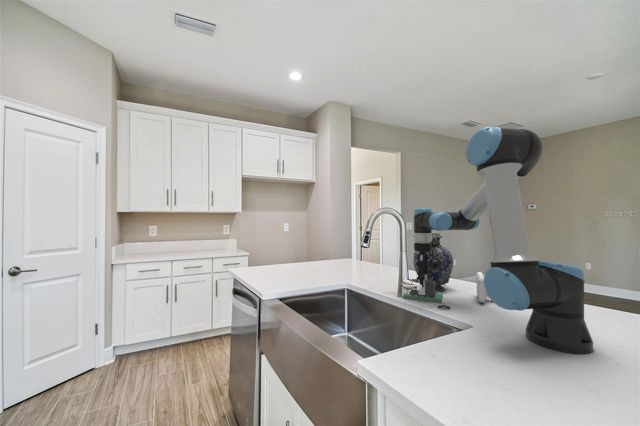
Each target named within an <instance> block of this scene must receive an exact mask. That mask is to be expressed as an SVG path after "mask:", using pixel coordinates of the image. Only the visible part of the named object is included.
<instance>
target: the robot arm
mask: <svg viewBox="0 0 640 426" xmlns="http://www.w3.org/2000/svg"><path fill="white" fill-rule="evenodd" d="M543 148H544V147H543V142H542V140H541V138H540V136H539V135H538V134H537V133H536V132H534V131H532V130H529V129H525V128H509V127H507V128H506V127H499V126H486V127H485V126H484V127H482V128H480V129H479V130H477V131H476V132H475V133H474V134H472V135H471V137H470V139H469V141H468V142H467V145H466V150H465V157H466V160H467V162H468V163H469V164H470V165H472V166H475V167H476V171H477V175H478V176H479V177H481V178H482V179H483V183H482V184H481V185H480V186H479V188H477V190H476V191H475V192H474V194H473V195H472V196H471V197H470V198H469V199H468V201H466V203H465V204H464V205H463V206H462V207H461V208H460V210H459V211H455V212H453V211H450V212H448V211H446V212H445V211H436V212H435V211H433V212H432V209H431V208H430V207H420V208H419V207H417V208H415V209H414V210H413V232H414V233H413V234H412V237H413V240H414V243H413V250H414V252H415V251H419V252H420V254H419V255H418V275H417V277H416V279H418V282H419V283H420V284H421V285H422V288H421V290H418V294H420V295H425V280H427V275H426V274H429V272H428V270H427V259H428V255H427V253H426V252H430V251H432V244H431V243H430V242H432V231H438V232H443V231H469V230H470V231H471V230H476V229H477V228H478V227H479V224H480V223H481V222H480V221H481V220H480V218H481V216H483V215H484V214H485V213H486V212H487V211H488V215H489V221H490V229H491V234H492V235H491V236H492V243H493V250H494V257H493V258H491V260H490V261H489V263H490V268H489V269H487V271H486V272H485V275H483V276H484V287H485V290H486V292H487V294H488V296H489V297H490V298H489V300H491V301H493V303H494V304H495V305H496V306H497V307H499V308H501V309H504V310H508V311H520V312H521V311H525V310H532V312H531V314H530V316H529V319H528V321H527V324H526V326H525V337H526V338H527V339H528V340H529V341H531V342H533V343H535V344H536V345H538V346H539V345H540V346H542V347H543V348H544V347H545V348H548V349H549V350H550V349H551V350H555V351H559V352H564V353H570V354H590V353H592V352H593V351H594V340H593V338H592V336H591V333H590V330H589V327H588V326H587V324H586V320H585V282H586V280H585V278H584V271H583V269H582V268H581V267H580V266H577V265H572V264H565V263H558V262H554V261H553V262H552V261H545V260H539V259H538V258H537V257H535V256H534V255H532V254H531V248H530V243H529V239H528V238H529V237H528V229H527V224H526V219H525V214H524V208H523V202H522V195H521V190H520V189H521V188H520V184H519V183H520V182H519V179H520V178H525V177H526V176H527V175H528V174H529V173H530V172H532V170H533V169H534V168H535V167H536V165H538V163H539V161H540V160H541V157H542V155H543V150H544V149H543Z"/></svg>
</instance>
